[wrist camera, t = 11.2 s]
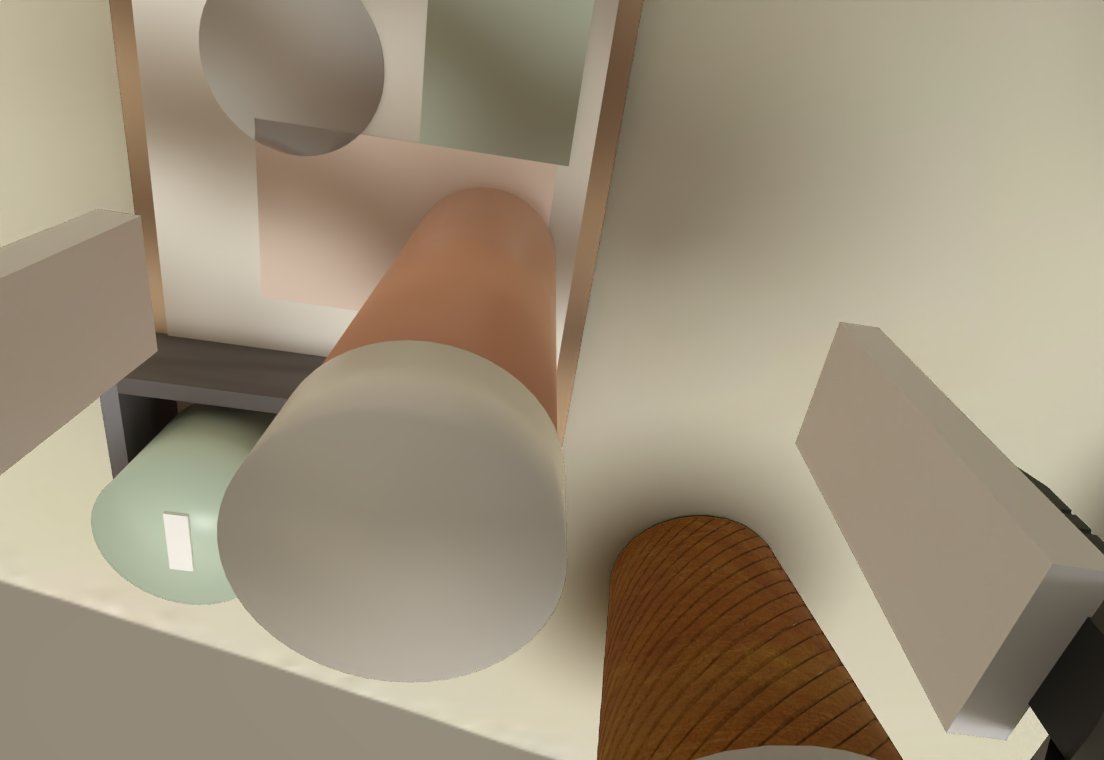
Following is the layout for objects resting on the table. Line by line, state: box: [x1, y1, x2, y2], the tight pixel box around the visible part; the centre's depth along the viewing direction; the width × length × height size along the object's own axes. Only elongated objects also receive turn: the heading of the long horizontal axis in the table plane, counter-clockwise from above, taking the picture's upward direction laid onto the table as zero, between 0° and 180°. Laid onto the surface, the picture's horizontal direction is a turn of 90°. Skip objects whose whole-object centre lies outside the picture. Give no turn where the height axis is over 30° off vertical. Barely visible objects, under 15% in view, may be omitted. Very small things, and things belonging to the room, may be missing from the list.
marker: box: [217, 187, 567, 682], centre depth 14 cm, size 4×4×13 cm
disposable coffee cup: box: [597, 516, 903, 760], centre depth 21 cm, size 10×10×12 cm
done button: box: [91, 403, 276, 605], centre depth 19 cm, size 4×4×4 cm
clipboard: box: [100, 0, 643, 479], centre depth 19 cm, size 18×13×4 cm
